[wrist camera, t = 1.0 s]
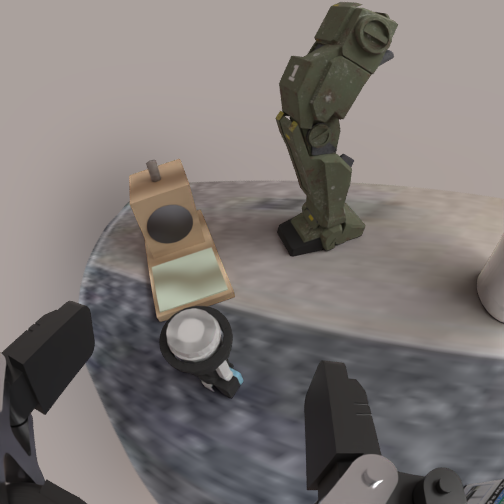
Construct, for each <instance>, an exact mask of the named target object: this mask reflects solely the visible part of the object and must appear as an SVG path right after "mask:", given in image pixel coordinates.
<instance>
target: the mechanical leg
mask: <svg viewBox="0 0 504 504" xmlns="http://www.w3.org/2000/svg"><path fill="white" fill-rule="evenodd" d="M360 5H361V4H359V3H349V2H340V3H337V4H335V5H333V6H331V7H330V9H329V11H328V13H327V15H326V17H325V18H324V20H323V22H322V24H321V26H320V28H319V30H318V32H317V34H316V35H315V40H316V42H315V43H314V45H313V46H312V48H311V49H310V51H309V53H308V54H307V55H306V56H304V57H298V56H291V59H290V60H289V63H288V65H287V67H286V69H285V71H284V74H283V76H282V78H281V80H280V83H279V86H280V94H281V102H282V111H283V112H282V111H280V112H279V114H278V115H277V117H276V121H277V124H278V128H279V131H280V133H281V135H282V137H283V140H284V142H285V143H286V146H287V149H288V152H289V155H290V158H291V161H292V163H293V166H294V169H295V172H296V175H297V178H298V182H299V185H300V188H301V189H302V190H303V191H304V193H305V194H306V195H307V198H306V202H305V203H304V204H303V206H302V213H300V214H299V215H297V216H295V217H294V218H292V219H290V220H288V221H286V222H284V223H282V224H280V225H279V227H278V231H277V233H278V235H279V236H280V238H281V240H282V242H283V243H284V245H285V247H286V249H287V251H288V252H289V254H290V256H297V255H301V254H306V253H311V252H315V251H320V250H323V248H324V249H325V250H327V251H328V250H330V249H333V248H334V247H335V243H336V244H337V245H338V244H342V243H344V242H345V241H347V240H350V239H353V238H356V237H359V236H362V233H363V231H364V228H365V224H364V223H363V222H362V221H361V220H360V218H359V217H358V216H357V215H356V214H355V213H354V211H353V210H352V209H351V208H350V207H349V206H348V205H347V204H346V203H345V199H346V196H347V192H348V189H349V186H350V181H351V173H352V168H351V167H352V164H353V162H354V160H353V159H352V158H350V157H348V156H346V155H345V154H342V155H341V156H339V155H337V154H336V151H337V144H338V139H339V134H340V124H339V119H344V117H345V116H346V114H347V112H348V111H349V109H350V108H351V106H352V104H353V103H354V101H355V99H356V98H357V96H358V94H359V93H360V91H361V89H362V87H363V86H364V84H365V83H366V82H367V80H368V79H369V77H370V76H371V74H373V73H374V72H375V71H376V69H377V68H378V66H380V65H382V64H383V63H385V62H387V61H389V60H390V59H392V58H393V57H394V55H393V53H392V52H391V51H390V50H387V49H388V48H389V47H390V44H391V42H392V37H393V35H394V33H395V30H396V28H397V26H398V24H397V23H396V22H395V21H393V20H391V19H390V18H389V16H388V15H387V14H385V13H378V12H372V11H369V10H367V9H364V8H356V7H357V6H360ZM285 116H290V120H291V121H290V120H289V119H288V118H286V117H285Z"/></svg>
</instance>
